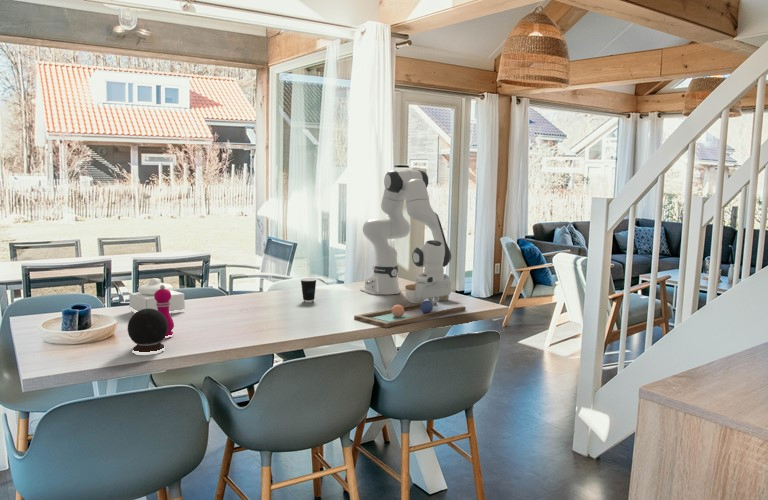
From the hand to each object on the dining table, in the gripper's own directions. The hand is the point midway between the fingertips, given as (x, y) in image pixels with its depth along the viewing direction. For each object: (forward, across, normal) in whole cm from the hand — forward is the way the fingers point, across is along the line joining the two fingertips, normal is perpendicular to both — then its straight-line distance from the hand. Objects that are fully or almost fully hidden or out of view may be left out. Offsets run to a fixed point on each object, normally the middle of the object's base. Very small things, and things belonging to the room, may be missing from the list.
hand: (433, 306), depth 288 cm
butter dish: (+2, +95, -80) cm, 124 cm away
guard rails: (+2, +13, 0) cm, 13 cm away
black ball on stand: (+2, +123, -20) cm, 125 cm away
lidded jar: (+2, -8, -19) cm, 21 cm away
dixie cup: (+2, +30, -55) cm, 63 cm away
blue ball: (-1, +6, +2) cm, 7 cm away
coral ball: (-1, +22, 0) cm, 22 cm away
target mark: (+2, +24, 0) cm, 24 cm away
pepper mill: (+2, +111, -35) cm, 116 cm away
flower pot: (+2, -21, -14) cm, 25 cm away
